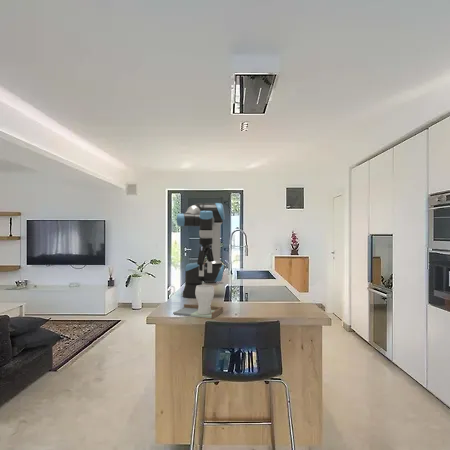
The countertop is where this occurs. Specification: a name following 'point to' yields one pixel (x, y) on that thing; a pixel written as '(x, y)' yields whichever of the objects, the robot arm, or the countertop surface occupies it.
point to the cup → (204, 298)
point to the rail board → (193, 311)
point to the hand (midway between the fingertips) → (205, 274)
